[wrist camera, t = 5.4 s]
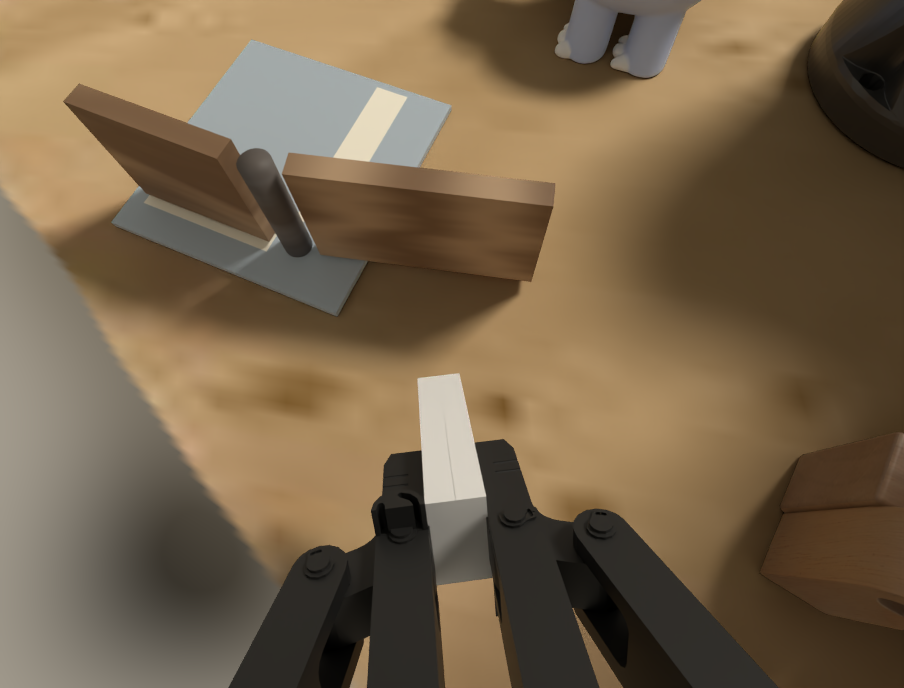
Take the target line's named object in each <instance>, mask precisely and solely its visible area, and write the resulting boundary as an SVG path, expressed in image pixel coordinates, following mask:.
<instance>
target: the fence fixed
mask: <svg viewBox="0 0 904 688" xmlns="http://www.w3.org/2000/svg"><path fill="white" fill-rule="evenodd" d="M63 102H64V103H65V104H66V105H67V106H68V107H69V109H70V110H71V111H72V112H73V113H74V114H75V115H76V116H77V117H78V119H79V120H80V121H81V122H82V123H83V124H84V125H85V126H86V127H87V129H88V130H89V131H90V132H91V133H92V134H93V135H94V136H95V137H96V139H97V140H98V141H99V142H100V143H101V144H102V145H103V146H104V147H105V149H106V150H107V151H108V152H109V153H110V154H111V155H112V156H113V157H114V158H115V160H116V161H117V162H118V163H119V164H120V165H121V166H122V167H123V168H124V170H125V171H126V172H127V173H128V174H129V175H130V176H131V177H132V178H133V180H134V181H135V182H136V183H137V184H138V185H139V186H140V187H141V188H142V190H143V191H144V192H145V193H146V194H149V195H151V196H154V197H156V198H159V199H161V200H164V201H166V202H169V203H172V204H174V205H177V206H179V207H182V208H184V209H187V210H189V211H192V212H194V213H197V214H200V215H202V216H205V217H207V218H210V219H212V220H215V221H217V222H220V223H222V224H225V225H227V226H230V227H233V228H235V229H238V230H240V231H243V232H245V233H248V234H250V235H253V236H255V237H258V238H261V239H263V240H266V241H268V242H270V240H271V238H272V237H273V235H274V234H276V235H277V237H278V239H279V240H280V242H281V244H282V245H283V247H284V249H285V250H286V252H287V253H288V254H289V255H290V256H292V257H303V256H305V255H307V254H308V253H309V252H310V251H311V249H312V246H313V243H312V240H311V237H310V235H309V233H308V231H307V229H306V227H305V225H304V223H303V221H302V219H301V217H300V215H299V213H298V211H297V209H296V206H295V204H294V202H293V200H292V198H291V196H290V194H289V192H288V190H287V188H286V186H285V184H284V182H283V180H282V178H281V176H280V173H279V171H278V169H277V167H276V165H275V163H274V161H273V159H272V157H271V155H270V154H269V152H267V151H266V150H264V149H260V148H253V149H249V150H247V151H245V152H243V153H242V154H241V155H240V154H239V152H238V151H237V149H236V147H235V145H234V143H233V142H232V140H231V139H229V138H227V137H224V136H221V135H218V134H216V133H213V132H210V131H208V130H205V129H202V128H199V127H197V126H194V125H191V124H188V123H186V122H183V121H180V120H177V119H175V118H172V117H169V116H166V115H164V114H161V113H158V112H155V111H153V110H150V109H147V108H144V107H142V106H139V105H136V104H134V103H131V102H128V101H125V100H123V99H120V98H117V97H114V96H112V95H109V94H106V93H103V92H101V91H98V90H95V89H92V88H90V87H87V86H84V85H81V84H78V85H77V86H76V88H75V89H74V90H73V91H72V92H71V93H70V94H69V95H68V97H67V98H66V99H65V100H64V101H63Z"/></svg>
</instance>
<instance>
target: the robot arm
mask: <svg viewBox="0 0 904 688" xmlns="http://www.w3.org/2000/svg"><path fill="white" fill-rule="evenodd" d="M808 75H809V80H810V84H811V87H812V90H813V92H814V95H815V97H816V99H817V101H818V102H819V104H820V106H821V107H822V109H823V110H824V112H825V113H826V114H827V116H828V117H829V118H830V119H831V120H832V122H833V123H834V124H835V125H836V126H837V127H838V128H839V129H840V130H841V131H842V132H843V133H844V134H846V135H847V136H848V137H849V138H850V139H852V140H853V141H854V142H856V143H857V144H858V145H860V146H861V147H863V148H864V149H866V150H867V151H869V152H871V153H872V154H874V155H876V156H878V157H880V158H882V159H883V160H886V161H888V162H890V163H892V164H894V165H897V166H899V167H902V168H904V0H843V1H842V2H841V3H840V5H839V6H838V7H837V8H836V9H835V11H834V12H833V14H832V15H831V16H830V18H829V19H828V20H827V22H826V23H825V25H824V26H823V27H822V29H821V30H820V32H819V33H818V34H817V36H816V37H815V39H814V41H813V43H812V45H811V48H810V51H809V56H808ZM418 395H419V412H420V430H421V448H422V450H421V451H413V452H405V453H397V454H391V455H390V457H389V458H388V460H387V461H386V463H385V464H384V473H383V491H382V496H380V497H379V498H378V499H377V500H376V501H375V502H374V504H373V507H372V509H371V513H372V519H373V524H374V529H375V534H376V535H375V537H374V538H373V539H372V540H371V541H369V542H368V543H367V544H365V545H364V546H362V547H360V548H358V549H355V550H353V551H350V552H348V553H345V552H344V551H342V550H341V549H340V548H339V547H335V546H331V545H327V546H318V547H316V548H313V549H311V550H308V551H307V552H306V553H304V554H303V555H301V556H300V557H299V558H298V560H297V561H296V562H295V563H294V565H293V567H292V568H291V570H290V572H289V574H288V576H287V578H286V580H285V582H284V584H283V586H282V587H281V589H280V591H279V593H278V595H277V597H276V599H275V601H274V603H273V604H272V606H271V608H270V610H269V612H268V614H267V616H266V618H265V620H264V622H263V623H262V625H261V627H260V629H259V631H258V633H257V635H256V637H255V639H254V640H253V642H252V644H251V646H250V648H249V650H248V652H247V654H246V656H245V657H244V660H243V661H242V663H241V665H240V667H239V669H238V671H237V673H236V675H235V676H234V678H233V681H232V682H231V684H230V686H229V688H349V687H350V684H351V681H352V678H353V675H354V672H355V669H356V666H357V662H358V659H359V656H360V653H361V650H362V647H363V644H364V638H366V637H368V636H370V646H369V663H368V680H367V688H445V679H444V666H443V653H442V640H441V627H440V614H439V602H438V595H437V586H436V585H443V584H450V583H458V582H465V581H472V580H480V579H487V578H492V576H493V582H494V596H495V609H496V616H498V617H499V622H500V628H501V633H502V638H503V644H504V649H505V654H506V660H507V665H508V670H509V676H510V681H511V686H512V688H599V685H598V682H597V679H596V676H595V674H594V671H593V668H592V665H591V662H590V659H589V656H588V653H587V650H586V647H585V644H584V641H583V638H582V635H581V632H580V629H579V626H578V623H577V621H576V618H575V615H574V612H573V609H572V608H574V610H575V613H576V614H577V616H578V618H579V619H580V621H581V622H582V624H583V625H584V627H585V628H586V630H587V632H588V633H589V635H590V636H591V638H592V639H593V641H594V642H595V644H596V646H597V647H598V649H599V650H600V652H601V653H602V655H603V656H604V658H605V660H606V661H607V663H608V664H609V666H610V667H611V669H612V670H613V672H614V674H615V675H616V677H617V678H618V680H619V681H620V683H621V684H622V686H623V688H778V687H777V686H776V684H775V683H774V682H773V681H772V680H771V679H770V678H769V677H768V676H767V675H766V674H765V672H764V671H763V670H762V669H761V668H760V667H759V666H758V665H757V664H756V663H755V662H754V660H753V659H752V658H751V657H750V656H749V655H748V654H747V653H746V652H745V651H744V650H743V648H742V647H741V646H740V645H739V644H738V643H737V642H736V641H735V640H734V639H733V638H732V637H731V635H730V634H729V633H728V632H727V631H726V630H725V629H724V628H723V627H722V626H721V625H720V623H719V622H718V621H717V620H716V619H715V618H714V617H713V616H712V615H711V614H710V613H709V611H708V610H707V609H706V608H705V607H704V606H703V605H702V604H701V603H700V602H699V601H698V599H697V598H696V597H695V596H694V595H693V594H692V593H691V592H690V591H689V590H688V589H687V588H686V586H685V585H684V584H683V583H682V582H681V581H680V580H679V579H678V578H677V577H676V576H675V574H674V573H673V572H672V571H671V570H670V569H669V568H668V567H667V566H666V565H665V564H664V562H663V561H662V560H661V559H660V558H659V557H658V556H657V555H656V554H655V553H654V552H653V550H652V549H651V548H650V547H649V546H648V545H647V544H646V543H645V542H644V541H643V540H642V539H641V537H640V536H639V535H638V534H637V533H636V532H635V531H634V530H633V529H632V528H631V527H630V525H629V524H628V523H627V522H626V521H625V520H624V519H623V518H621V517H620V516H619V515H617V514H616V513H613V512H611V511H608V510H603V509H591V510H586V511H584V512H582V513H580V514H578V516H577V517H576V518H575V520H574V522H566V521H559V520H554V519H551V518H548V517H546V516H544V515H542V514H541V513H539V511H538V510H537V508H536V507H534V506H533V504H532V502H531V499H530V496H529V493H528V490H527V487H526V484H525V481H524V478H523V475H522V472H521V470H520V466H519V463H518V461H517V457H516V454H515V451H514V448H513V447H512V446H511V445H510V444H508V443H507V442H506V441H505V440H504V439H501V440H493V441H485V442H477V443H474V438H473V434H472V429H471V425H470V420H469V416H468V411H467V406H466V402H465V397H464V393H463V388H462V383H461V379H460V374H459V373H457V374H449V375H440V376H432V377H423V378H418Z"/></svg>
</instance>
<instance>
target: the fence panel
mask: <svg viewBox="0 0 904 688" xmlns="http://www.w3.org/2000/svg"><path fill="white" fill-rule="evenodd" d="M282 176H283V178H284V180H285V182H286V184H287V186H288V188H289V191H290V193H291V195H292V197H293V199H294V201H295V203H296V205H297V207H298V209H299V211H300V213H301V216H302V218H303V220H304V222H305V224H306V226H307V228H308V230H309V232H310V234H311V236H312V238H313V241H314V243H315V245H316V247H317V249H318V251H319V253H320V255H326V256H333V257H341V258H349V259H357V260H365V261H373V262H381V263H388V264H396V265H404V266H412V267H420V268H428V269H436V270H443V271H451V272H459V273H467V274H475V275H483V276H491V277H499V278H506V279H514V280H522V281H530V282H531V281H532V277H533V274H534V270H535V267H536V264H537V260H538V257H539V253H540V250H541V247H542V243H543V240H544V236H545V233H546V229H547V226H548V223H549V219H550V216H551V212H552V209H553V204H554V193H555V183H548V182H539V181H530V180H522V179H513V178H505V177H496V176H487V175H479V174H470V173H461V172H453V171H444V170H436V169H427V168H418V167H410V166H401V165H392V164H384V163H375V162H367V161H358V160H349V159H341V158H332V157H324V156H315V155H306V154H298V153H288V156H287V159H286V162H285V165H284V168H283V171H282Z"/></svg>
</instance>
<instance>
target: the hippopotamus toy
mask: <svg viewBox="0 0 904 688" xmlns="http://www.w3.org/2000/svg"><path fill="white" fill-rule="evenodd" d="M700 1H701V0H575V2H574V6H573V10H572V14H571V18H570V21H569V23H567V24H566V25H565V26H564V30H562V31H561V32H560V33H559V35H558V38H557V40H558V43H559V44H558V45H557V46H556V48H555V54H556V55H557V56H559V57H561V58H569V59H572V60H573V61H575V62H578V63H583V64H586V63H592V62H595V61H597V60H598V59H600V58H601V57H602V56H603V55H604V53H605V51H606V49H607V46H608V43H609V40H610V36H611V33H612V30H613V27H614V24H615V20H616V17H617V14H618V13H619V12H620V13H625V14H631V15H635V18H634V21H633V24H632V27H631V30H630V33H629V35H625V36H622V37H620V38H619V43H618V44H616V45H615V46H614V48H613V56H614V57H615V58H614V59H613V60H612V61H611V67H612V68H613V69H617V70H620V71H624V72H628V73H630V74H632V75H634V76H637V77H643V78H648V77H653V76H655V75H657V74H659V73H660V72H661V71H662V70H663V68H664V66H665V64H666V61H667V59H668V56H669V54H670V51H671V49H672V46H673V43H674V41H675V38H676V36H677V33H678V31H679V28H680V25H681V23H682V20H683V18H684V15H685V13H686V11H687V10H688V9H689V8H691V7H692V6H694V5H695V4H697V3H698V2H700Z"/></svg>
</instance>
